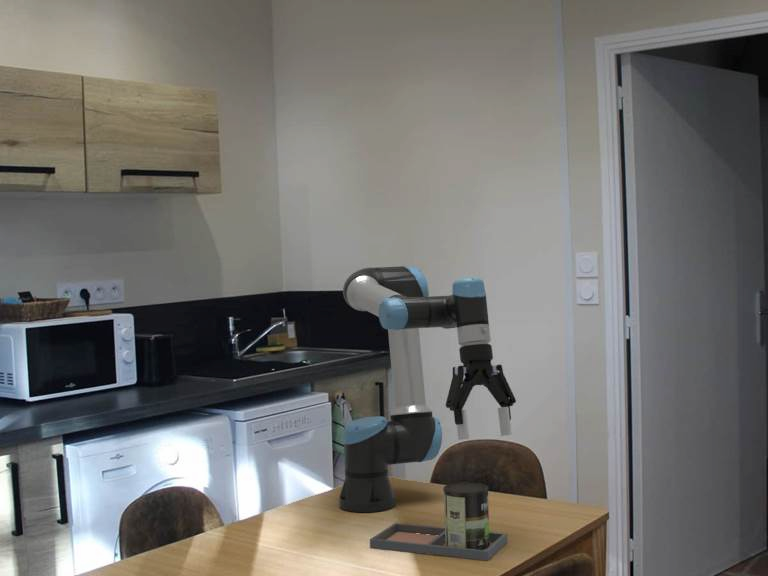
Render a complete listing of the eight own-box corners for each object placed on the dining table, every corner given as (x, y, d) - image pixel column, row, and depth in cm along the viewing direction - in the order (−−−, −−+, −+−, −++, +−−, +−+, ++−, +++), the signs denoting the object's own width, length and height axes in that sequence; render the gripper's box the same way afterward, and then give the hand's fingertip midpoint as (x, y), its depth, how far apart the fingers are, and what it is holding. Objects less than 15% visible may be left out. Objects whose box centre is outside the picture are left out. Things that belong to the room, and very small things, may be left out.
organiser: (395, 530, 240) (395, 522, 240) (507, 542, 228) (507, 533, 228) (370, 547, 226) (369, 539, 226) (487, 560, 215) (487, 551, 215)
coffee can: (491, 542, 229) (490, 482, 228) (487, 556, 218) (486, 493, 218) (447, 540, 231) (446, 481, 230) (441, 554, 220) (440, 492, 220)
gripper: (446, 342, 216) (456, 439, 213) (523, 342, 232) (534, 432, 229) (424, 347, 222) (433, 442, 219) (501, 346, 238) (511, 435, 234)
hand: (485, 437), depth 224 cm, fingers open, 13 cm apart
